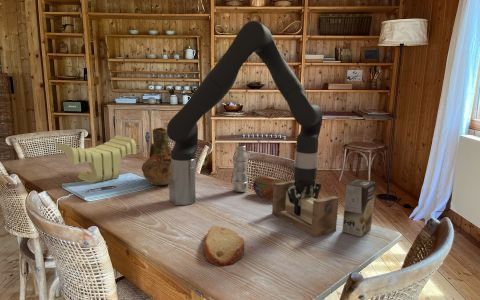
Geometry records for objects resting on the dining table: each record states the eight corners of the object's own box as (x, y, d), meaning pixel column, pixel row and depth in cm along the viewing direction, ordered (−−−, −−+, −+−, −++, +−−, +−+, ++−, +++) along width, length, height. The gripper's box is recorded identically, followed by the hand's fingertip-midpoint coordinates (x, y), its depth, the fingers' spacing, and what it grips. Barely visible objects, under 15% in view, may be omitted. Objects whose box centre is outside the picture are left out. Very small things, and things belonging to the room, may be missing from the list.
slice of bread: (218, 229, 117) (218, 218, 116) (264, 246, 106) (264, 234, 105) (175, 249, 103) (175, 237, 102) (223, 271, 92) (223, 257, 91)
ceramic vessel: (153, 195, 147) (151, 134, 142) (135, 179, 169) (133, 125, 164) (192, 189, 156) (192, 131, 151) (170, 175, 177) (169, 124, 172)
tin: (252, 194, 152) (253, 175, 150) (256, 192, 154) (257, 173, 153) (284, 202, 143) (285, 181, 142) (288, 200, 146) (289, 179, 144)
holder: (316, 237, 112) (319, 203, 110) (271, 213, 131) (272, 183, 129) (337, 231, 117) (340, 198, 115) (290, 208, 136) (291, 180, 134)
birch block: (311, 224, 117) (313, 203, 116) (285, 210, 129) (286, 191, 127) (321, 222, 119) (322, 201, 118) (293, 208, 131) (295, 189, 129)
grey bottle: (246, 194, 151) (247, 147, 147) (230, 193, 153) (231, 146, 149) (249, 190, 157) (250, 144, 153) (233, 188, 159) (234, 143, 155)
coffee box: (361, 237, 113) (365, 188, 110) (341, 231, 117) (345, 183, 114) (371, 228, 120) (376, 181, 117) (353, 223, 124) (357, 178, 121)
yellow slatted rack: (76, 188, 153) (73, 147, 150) (58, 181, 163) (55, 142, 160) (137, 175, 176) (135, 138, 172) (118, 169, 186) (117, 134, 182)
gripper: (297, 170, 113) (293, 221, 117) (329, 165, 121) (325, 213, 124) (281, 164, 120) (279, 214, 123) (313, 160, 127) (310, 207, 131)
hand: (302, 213), depth 124 cm, fingers closed on birch block, 4 cm apart
